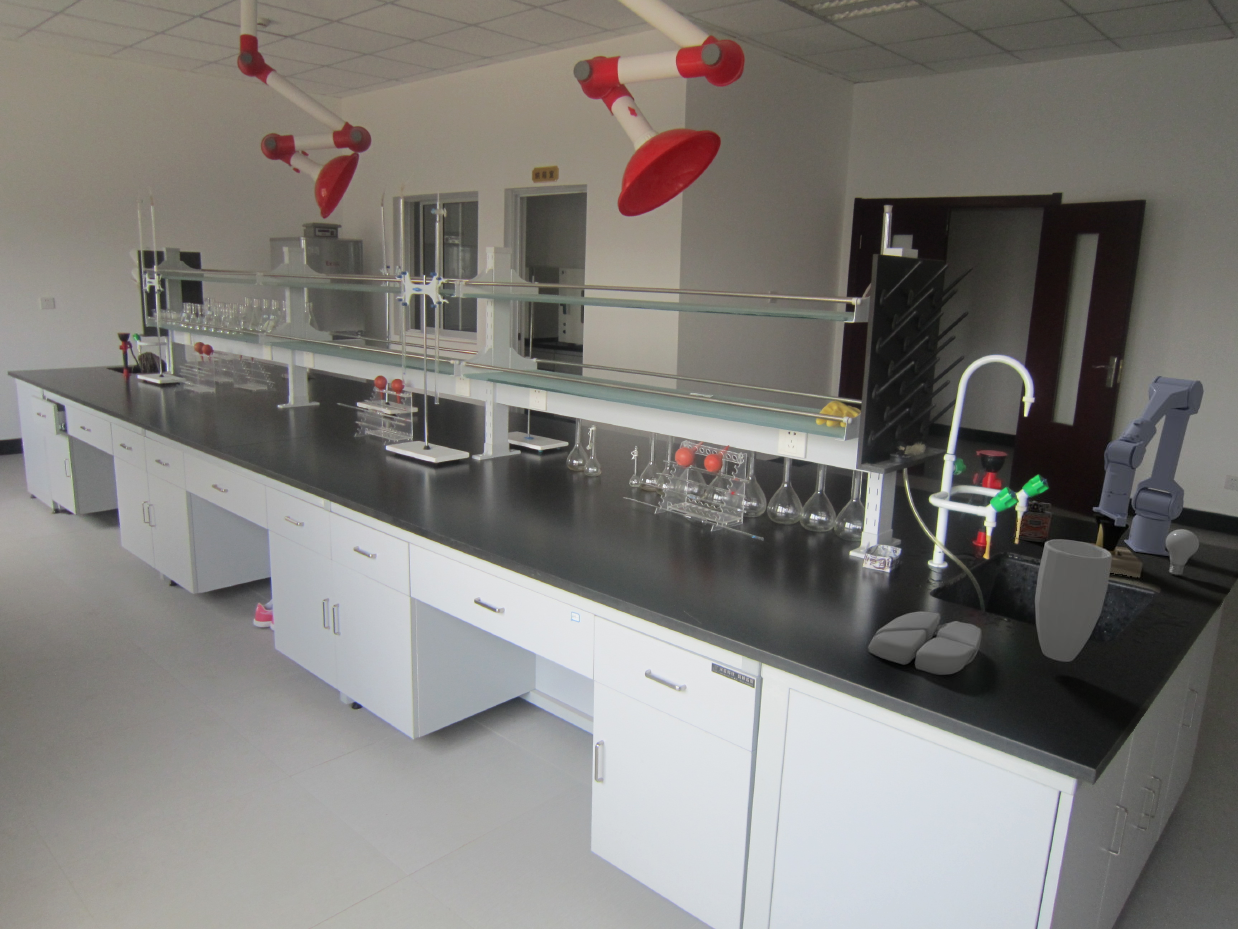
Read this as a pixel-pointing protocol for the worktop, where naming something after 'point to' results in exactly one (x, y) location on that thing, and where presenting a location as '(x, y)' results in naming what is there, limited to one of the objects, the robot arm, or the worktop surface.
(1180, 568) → the lightbulb
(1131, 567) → the socket block
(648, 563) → the worktop surface
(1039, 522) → the lighter
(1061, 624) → the cup
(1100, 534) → the dowel
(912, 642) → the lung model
